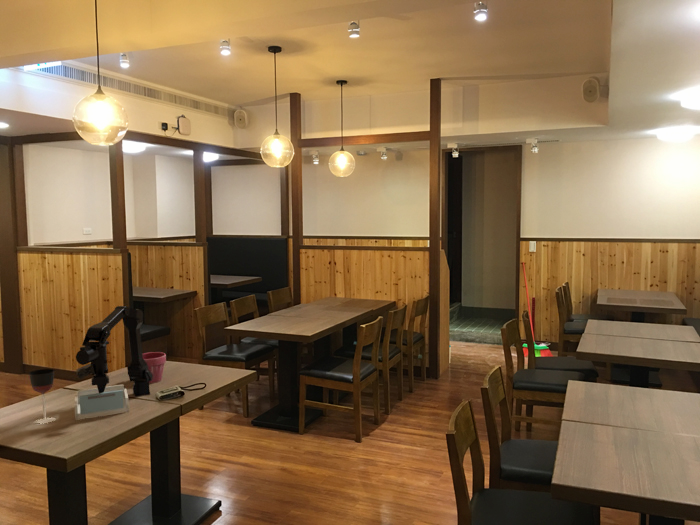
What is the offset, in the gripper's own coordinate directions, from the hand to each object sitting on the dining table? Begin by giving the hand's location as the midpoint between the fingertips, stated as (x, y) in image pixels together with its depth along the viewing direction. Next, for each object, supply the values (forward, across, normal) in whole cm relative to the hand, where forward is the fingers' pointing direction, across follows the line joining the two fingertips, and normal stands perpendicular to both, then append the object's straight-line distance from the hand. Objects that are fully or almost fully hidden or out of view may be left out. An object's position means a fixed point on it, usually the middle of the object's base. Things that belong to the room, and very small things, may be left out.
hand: (101, 395), depth 227 cm
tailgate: (+6, 0, 0) cm, 6 cm away
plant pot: (+10, -42, +23) cm, 49 cm away
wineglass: (+9, -5, -21) cm, 23 cm away
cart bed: (+9, -7, 0) cm, 11 cm away
